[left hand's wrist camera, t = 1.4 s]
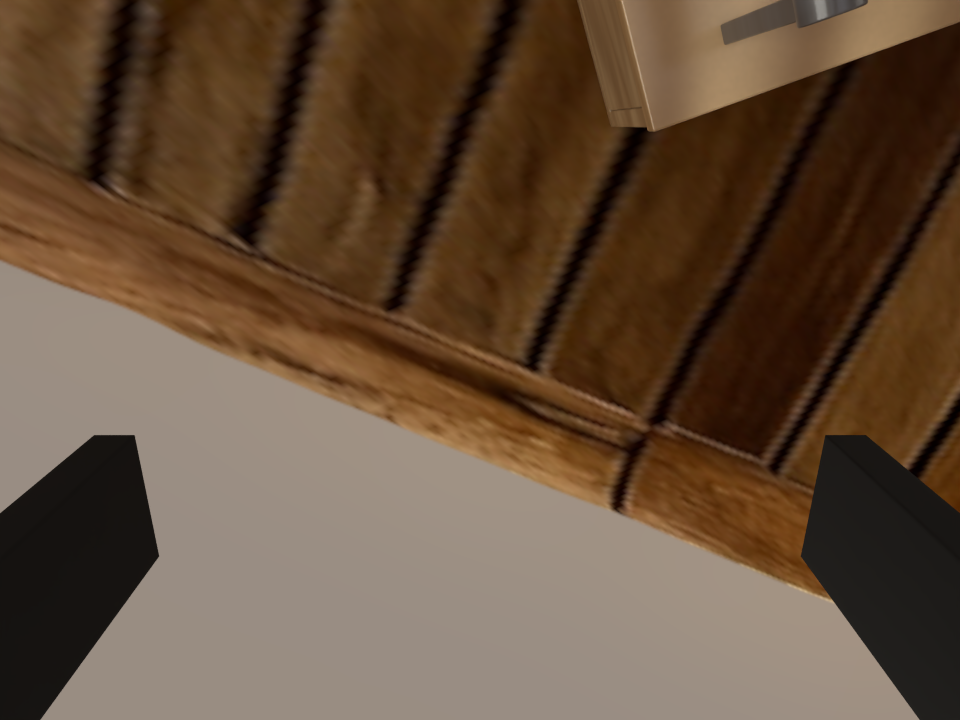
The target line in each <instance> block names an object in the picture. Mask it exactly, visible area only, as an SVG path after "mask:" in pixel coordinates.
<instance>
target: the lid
mask: <svg viewBox="0 0 960 720" xmlns="http://www.w3.org/2000/svg"><path fill="white" fill-rule="evenodd" d="M615 2H616V6H617V10H618V14H619V18H620V22H621V26H622V30H623V34H624V38H625V42H626V46H627V50H628V54H629V58H630V62H631V66H632V70H633V74H634V78H635V82H636V86H637V90H638V94H639V98H640V102H641V106H642V110H643V114H644V118H645V122H646V126H647V130H648V131H653V132H656V131H659V130H661V129H664V128H667V127H670V126H673V125H675V124H678V123H681V122H684V121H686V120H689V119H692V118H695V117H698V116H700V115H703V114H706V113H709V112H711V111H714V110H717V109H720V108H723V107H725V106H728V105H731V104H734V103H736V102H739V101H742V100H745V99H748V98H750V97H753V96H756V95H759V94H761V93H764V92H767V91H770V90H772V89H775V88H778V87H781V86H784V85H786V84H789V83H792V82H795V81H797V80H800V79H803V78H806V77H809V76H811V75H814V74H817V73H820V72H822V71H825V70H828V69H831V68H834V67H836V66H839V65H842V64H845V63H847V62H850V61H853V60H856V59H859V58H861V57H864V56H867V55H870V54H872V53H875V52H878V51H881V50H884V49H886V48H889V47H892V46H895V45H897V44H900V43H903V42H906V41H909V40H911V39H914V38H917V37H920V36H922V35H925V34H928V33H931V32H933V31H936V30H939V29H942V28H945V27H947V26H950V25H953V24H956V23H958V22H960V0H615Z"/></svg>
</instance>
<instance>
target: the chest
mask: <svg viewBox="0 0 960 720" xmlns="http://www.w3.org/2000/svg"><path fill="white" fill-rule="evenodd" d="M577 2H578V5H579V9H580V13H581V17H582V20H583V24H584V28H585V32H586V35H587V39H588V43H589V47H590V50H591V54H592V58H593V61H594V65H595V69H596V73H597V76H598V80H599V84H600V88H601V91H602V95H603V99H604V102H605V106H606V110H607V114H608V117H609V121H610V125H611V127H647V126H646V122H645V118H644V114H643V110H642V106H641V102H640V98H639V94H638V90H637V86H636V82H635V78H634V74H633V70H632V66H631V62H630V58H629V54H628V50H627V46H626V42H625V38H624V34H623V30H622V26H621V22H620V18H619V14H618V10H617V6H616V2H615V0H577Z"/></svg>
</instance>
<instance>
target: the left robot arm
mask: <svg viewBox="0 0 960 720" xmlns="http://www.w3.org/2000/svg"><path fill="white" fill-rule="evenodd" d="M158 557H159V553H158V549H157V544H156V539H155V534H154V529H153V524H152V519H151V514H150V509H149V504H148V499H147V494H146V489H145V484H144V480H143V475H142V470H141V465H140V460H139V455H138V450H137V445H136V440H135V436H134V435H94V436H93V437H91V438H90V439H89V440H88V441H87V442H86V443H84V444H83V445H82V446H81V447H79V448H78V449H77V450H76V451H75V452H74V453H72V454H71V455H70V456H69V457H67V458H66V459H65V460H64V461H63V462H61V463H60V464H59V465H58V466H57V467H55V468H54V469H53V470H52V471H51V472H49V473H48V474H47V475H46V476H45V477H43V478H42V479H41V480H40V481H39V482H37V483H36V484H35V485H34V486H33V487H31V488H30V489H29V490H28V491H27V492H25V493H24V494H23V495H22V496H21V497H19V498H18V499H17V500H16V501H14V502H13V503H12V504H11V505H10V506H8V507H7V508H6V509H5V510H4V511H2V512H1V513H0V720H40V719H41V718H42V717H43V715H44V714H45V713H46V711H47V710H48V708H49V707H50V706H51V704H52V703H53V702H54V700H55V699H56V697H57V696H58V695H59V693H60V692H61V691H62V689H63V688H64V686H65V685H66V684H67V682H68V681H69V680H70V678H71V677H72V675H73V674H74V673H75V671H76V670H77V669H78V667H79V666H80V664H81V663H82V662H83V660H84V659H85V658H86V656H87V655H88V653H89V652H90V651H91V649H92V648H93V647H94V645H95V644H96V642H97V641H98V640H99V638H100V637H101V636H102V634H103V633H104V631H105V630H106V629H107V627H108V626H109V625H110V623H111V622H112V620H113V619H114V618H115V616H116V615H117V614H118V612H119V611H120V609H121V608H122V607H123V605H124V604H125V603H126V601H127V600H128V598H129V597H130V596H131V594H132V593H133V591H134V590H135V589H136V587H137V586H138V585H139V583H140V582H141V580H142V579H143V578H144V576H145V575H146V574H147V572H148V571H149V569H150V568H151V567H152V565H153V564H154V562H155V561H156V560H157V558H158ZM801 557H802V558H803V560H804V561H805V563H806V564H807V565H808V567H809V568H810V569H811V571H812V572H813V574H814V575H815V576H816V578H817V579H818V580H819V582H820V583H821V585H822V586H823V587H824V589H825V590H826V591H827V593H828V594H829V596H830V597H831V598H832V600H833V601H834V603H835V604H836V605H837V607H838V608H839V609H840V611H841V612H842V614H843V615H844V616H845V618H846V619H847V620H848V622H849V623H850V625H851V626H852V627H853V629H854V630H855V631H856V633H857V634H858V636H859V637H860V638H861V640H862V641H863V642H864V644H865V645H866V646H867V648H868V649H869V651H870V652H871V653H872V655H873V656H874V658H875V659H876V660H877V662H878V663H879V664H880V666H881V667H882V669H883V670H884V671H885V673H886V674H887V675H888V677H889V678H890V680H891V681H892V682H893V684H894V685H895V686H896V688H897V689H898V691H899V692H900V693H901V695H902V696H903V697H904V699H905V700H906V702H907V703H908V704H909V706H910V707H911V708H912V710H913V711H914V713H915V714H916V715H917V717H918V718H919V719H920V720H960V513H959V512H958V511H956V510H955V509H954V508H953V507H952V506H950V505H949V504H948V503H947V502H946V501H944V500H943V499H942V498H941V497H940V496H938V495H937V494H936V493H935V492H933V491H932V490H931V489H930V488H929V487H927V486H926V485H925V484H924V483H923V482H921V481H920V480H919V479H918V478H917V477H915V476H914V475H913V474H912V473H911V472H909V471H908V470H907V469H906V468H905V467H903V466H902V465H901V464H900V463H899V462H897V461H896V460H895V459H894V458H893V457H891V456H890V455H889V454H888V453H887V452H885V451H884V450H883V449H882V448H881V447H879V446H878V445H877V444H876V443H875V442H873V441H872V440H871V439H870V438H868V437H867V436H866V435H825V440H824V445H823V450H822V455H821V460H820V465H819V470H818V475H817V480H816V484H815V489H814V494H813V499H812V504H811V509H810V514H809V519H808V524H807V529H806V534H805V539H804V544H803V549H802V553H801Z"/></svg>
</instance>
